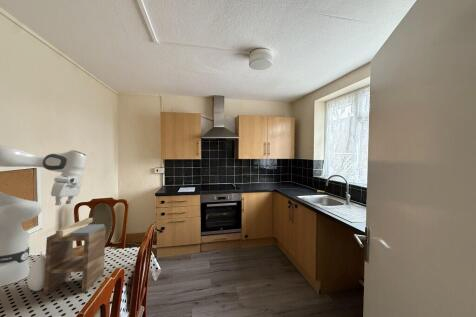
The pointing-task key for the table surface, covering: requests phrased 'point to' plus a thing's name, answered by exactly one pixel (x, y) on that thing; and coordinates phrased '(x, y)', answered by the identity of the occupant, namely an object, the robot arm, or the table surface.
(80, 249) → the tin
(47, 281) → the walnut stand
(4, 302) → the table surface
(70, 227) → the beech bar
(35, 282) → the sauce bottle
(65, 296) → the table surface
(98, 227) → the slate tile
